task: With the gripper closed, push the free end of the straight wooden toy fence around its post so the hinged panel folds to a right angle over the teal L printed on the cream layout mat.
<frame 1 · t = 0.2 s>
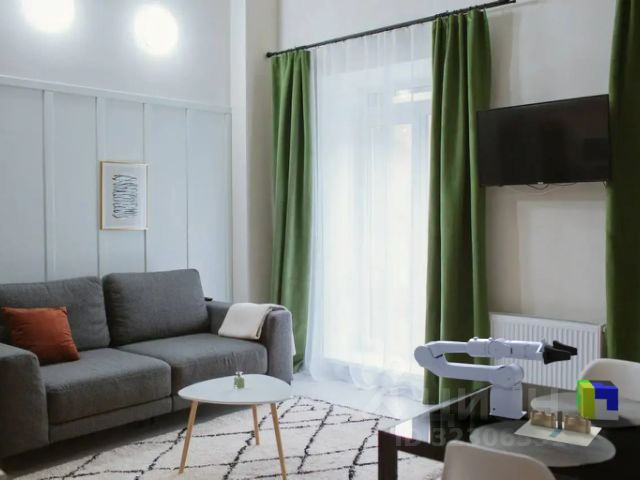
hand: (573, 353, 194), 21 cm above the table, tool horizontal, fingers open, 7 cm apart
layout mat: (558, 432, 189), on the table
fence fixed panel: (559, 428, 190), resting on layout mat
fence panel: (577, 423, 187), point 3 cm above the table, hinge at 0.0°
puzzle toy: (597, 416, 203), on the table
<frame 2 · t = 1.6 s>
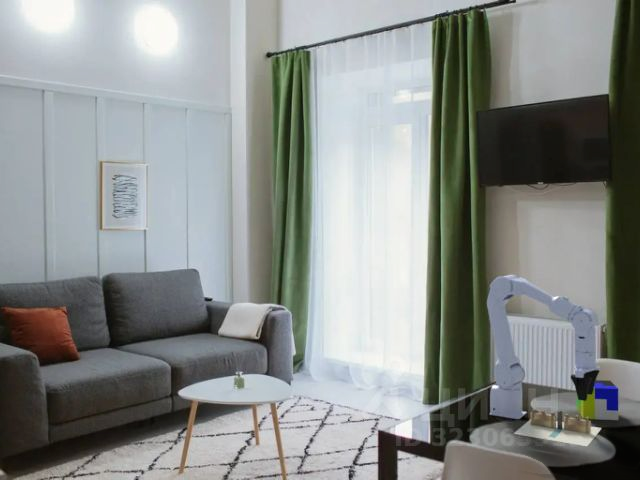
hand: (585, 397, 191), 9 cm above the table, tool pointing down, fingers open, 7 cm apart
nothing on the table moved.
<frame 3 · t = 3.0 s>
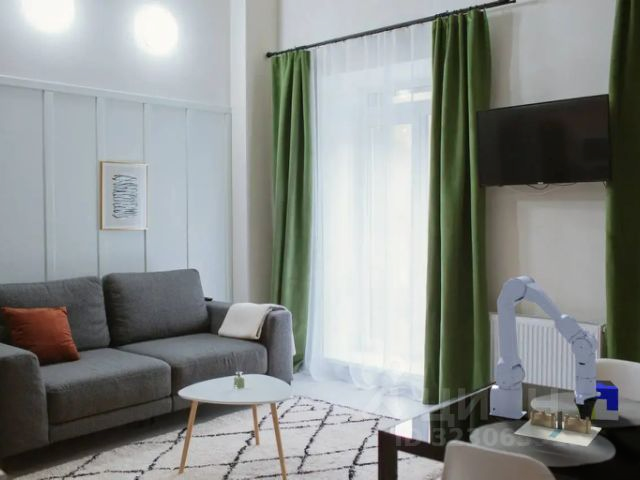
hand: (585, 422, 191), 2 cm above the table, tool pointing down, fingers closed
nothing on the table moved.
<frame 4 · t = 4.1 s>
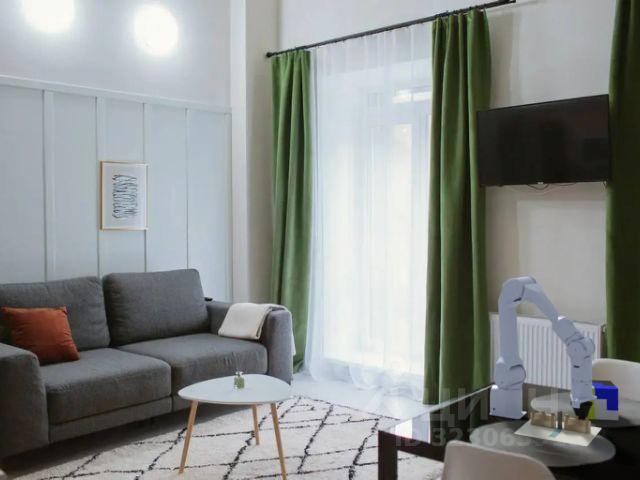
hand: (581, 426, 188), 2 cm above the table, tool pointing down, fingers closed, pressing on fence panel
fence panel: (577, 423, 187), point 3 cm above the table, hinge at 0.1°, touching gripper
everything else where it was.
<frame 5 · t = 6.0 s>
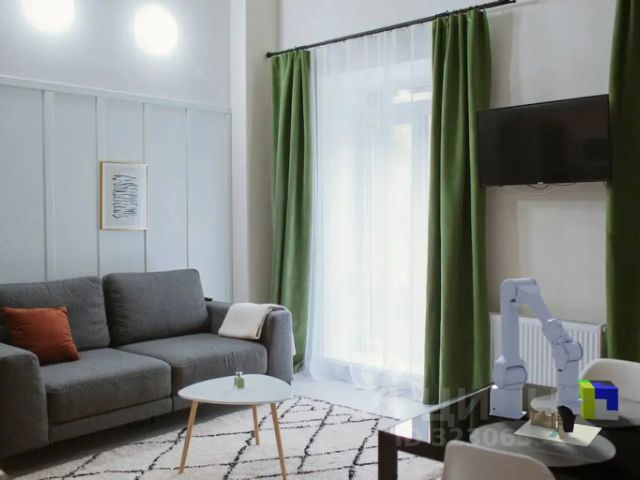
hand: (568, 432, 184), 2 cm above the table, tool pointing down, fingers closed, pressing on fence panel
fence panel: (560, 425, 186), point 3 cm above the table, hinge at 73.4°, touching gripper
everything else where it was.
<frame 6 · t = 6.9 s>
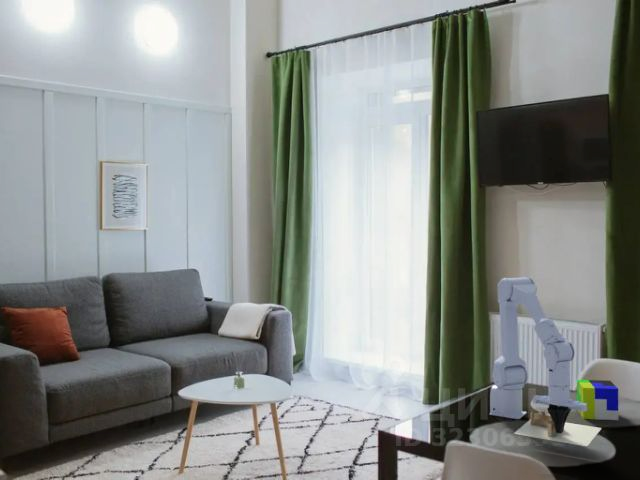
hand: (559, 432, 184), 2 cm above the table, tool pointing down, fingers closed
fence panel: (553, 424, 186), point 3 cm above the table, hinge at 94.5°, touching gripper
everything else where it was.
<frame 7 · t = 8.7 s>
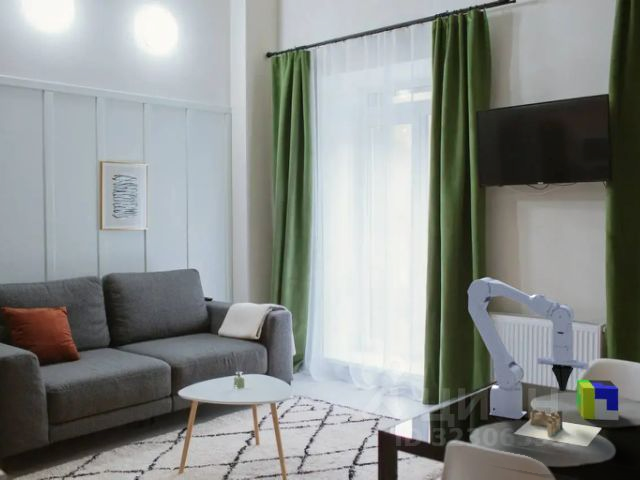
hand: (562, 390, 197), 10 cm above the table, tool pointing down, fingers closed
fence panel: (553, 424, 186), point 3 cm above the table, hinge at 94.7°
everything else where it was.
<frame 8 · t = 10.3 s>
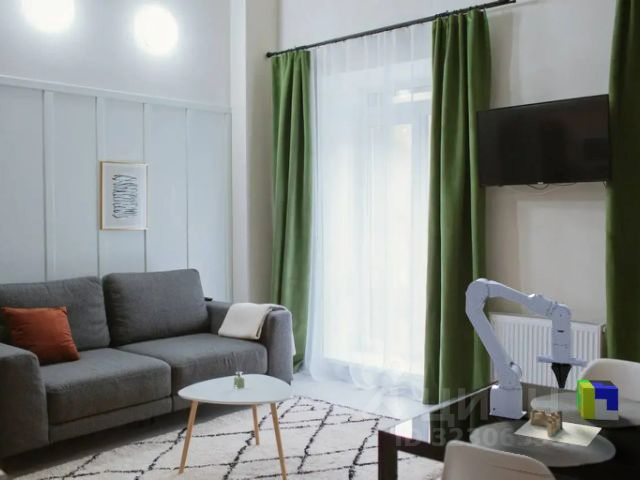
hand: (561, 387, 199), 10 cm above the table, tool pointing down, fingers closed
nothing on the table moved.
at the end: fence panel at +95° (first picture: +0°) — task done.
